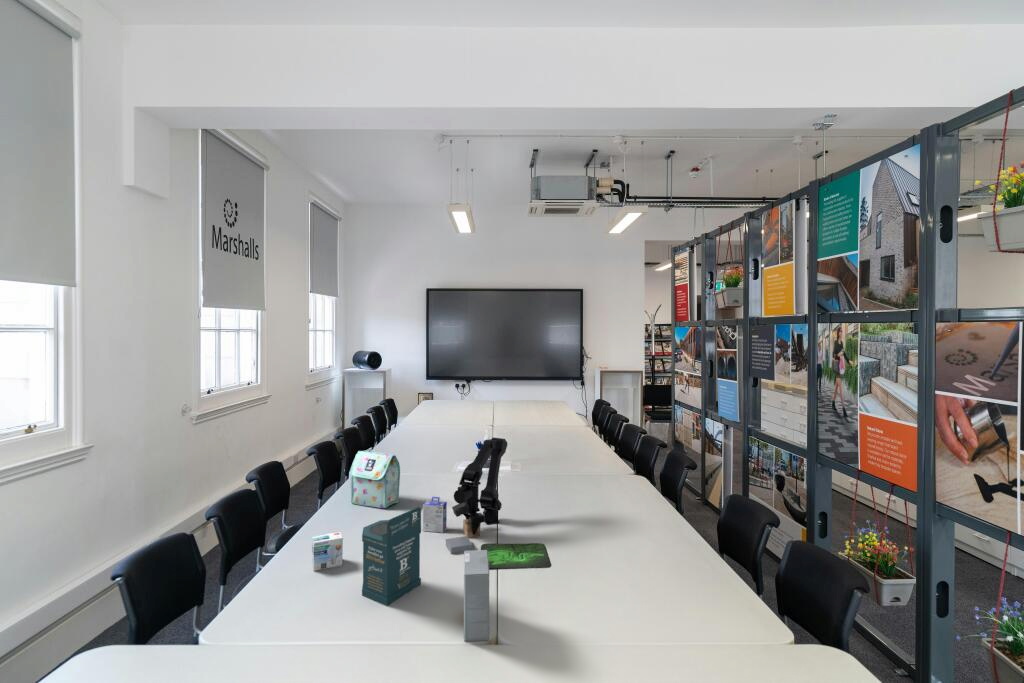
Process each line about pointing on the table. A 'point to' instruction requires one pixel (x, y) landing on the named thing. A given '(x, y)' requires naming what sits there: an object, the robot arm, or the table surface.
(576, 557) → the table surface
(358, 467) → the lunch bag
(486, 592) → the hard drive box
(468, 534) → the walnut block
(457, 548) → the base slab
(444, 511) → the ink cartridge box
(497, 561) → the mouse mat
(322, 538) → the light bulb box
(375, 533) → the donation box
